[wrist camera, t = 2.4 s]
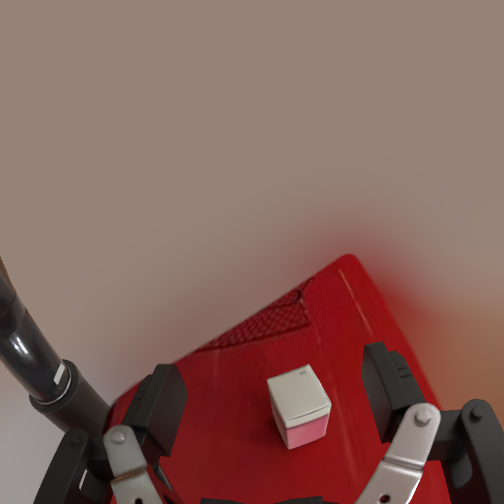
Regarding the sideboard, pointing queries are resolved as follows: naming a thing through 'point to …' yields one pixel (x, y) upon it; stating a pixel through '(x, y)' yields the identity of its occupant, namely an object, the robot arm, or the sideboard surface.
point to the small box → (299, 406)
